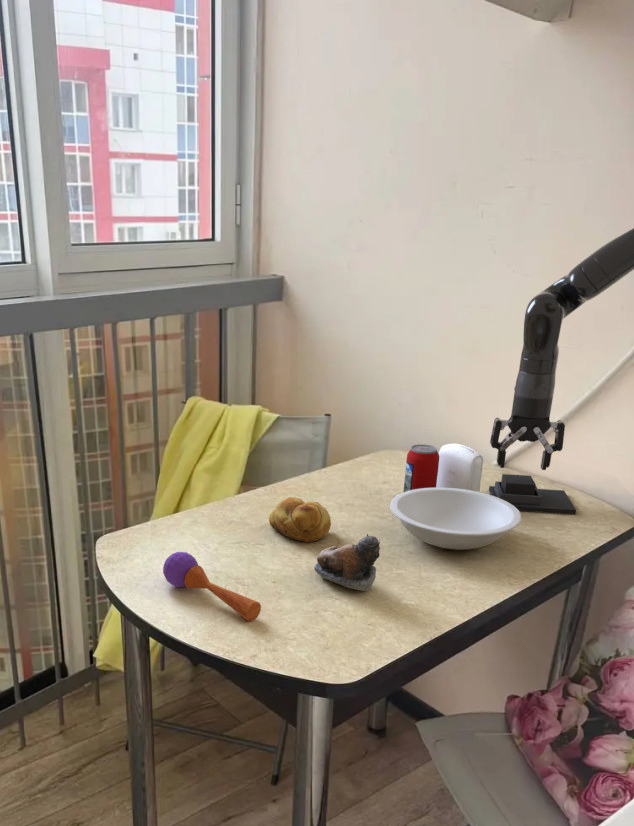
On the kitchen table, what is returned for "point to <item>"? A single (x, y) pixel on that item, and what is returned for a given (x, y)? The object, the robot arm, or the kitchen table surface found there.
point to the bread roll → (300, 519)
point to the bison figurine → (350, 564)
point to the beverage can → (421, 467)
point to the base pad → (537, 500)
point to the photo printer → (459, 467)
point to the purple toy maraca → (205, 584)
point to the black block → (517, 484)
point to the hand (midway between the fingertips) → (522, 467)
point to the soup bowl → (454, 516)
